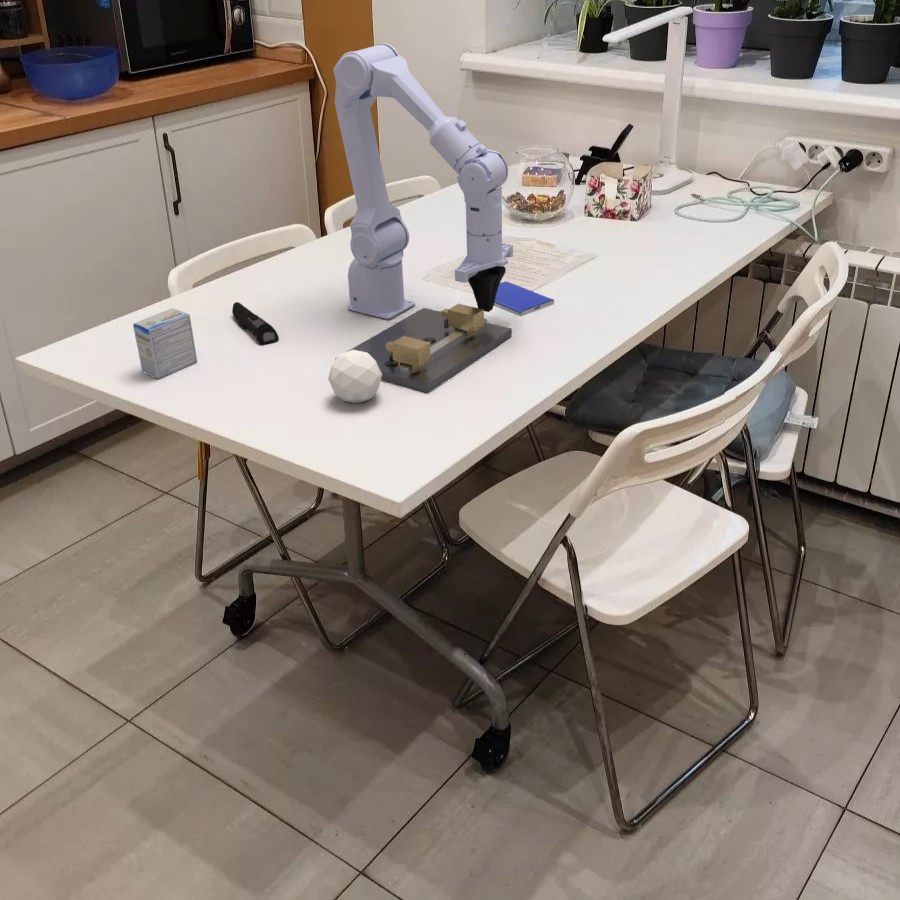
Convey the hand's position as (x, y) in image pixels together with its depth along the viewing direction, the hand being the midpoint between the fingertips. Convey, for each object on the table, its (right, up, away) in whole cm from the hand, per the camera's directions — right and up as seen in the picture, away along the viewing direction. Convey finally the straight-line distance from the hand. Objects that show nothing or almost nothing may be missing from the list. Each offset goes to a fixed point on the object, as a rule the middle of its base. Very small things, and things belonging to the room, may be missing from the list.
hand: (485, 309), depth 174 cm
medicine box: (-51, -10, -6) cm, 52 cm away
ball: (-20, -16, -18) cm, 31 cm away
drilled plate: (-10, -7, -4) cm, 13 cm away
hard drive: (+6, +3, +14) cm, 15 cm away
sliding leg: (-4, -4, -3) cm, 6 cm away
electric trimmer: (-40, -3, +6) cm, 40 cm away
